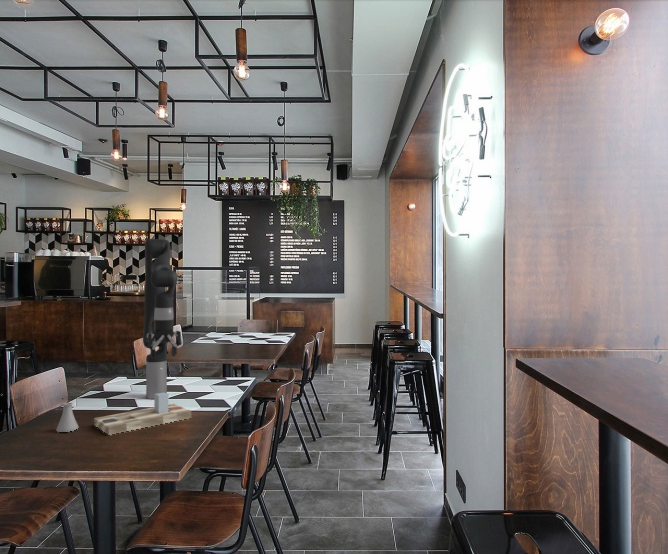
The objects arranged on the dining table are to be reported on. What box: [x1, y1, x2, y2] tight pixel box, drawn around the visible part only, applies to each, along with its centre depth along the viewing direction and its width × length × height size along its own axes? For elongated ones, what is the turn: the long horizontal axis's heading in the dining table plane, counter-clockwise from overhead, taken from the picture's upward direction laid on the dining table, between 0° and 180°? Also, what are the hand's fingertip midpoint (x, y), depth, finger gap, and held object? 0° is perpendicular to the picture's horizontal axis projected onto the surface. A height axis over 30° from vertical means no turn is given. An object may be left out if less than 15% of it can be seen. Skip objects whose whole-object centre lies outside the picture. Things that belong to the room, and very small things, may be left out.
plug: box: [153, 392, 169, 414], centre depth 199 cm, size 4×4×10 cm
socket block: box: [93, 403, 192, 436], centre depth 194 cm, size 16×32×3 cm, turn 133°
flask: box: [55, 402, 80, 433], centre depth 184 cm, size 7×7×10 cm
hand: (163, 357), depth 206 cm, fingers open, 8 cm apart
